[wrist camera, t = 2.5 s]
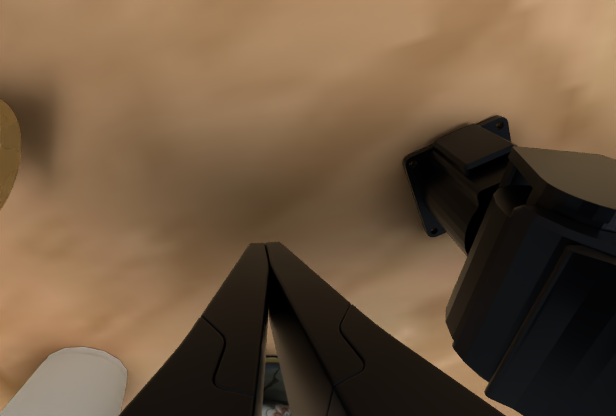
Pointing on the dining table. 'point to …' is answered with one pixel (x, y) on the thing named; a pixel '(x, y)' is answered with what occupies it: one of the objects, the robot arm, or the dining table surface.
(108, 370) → the foam cup
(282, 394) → the apothecary jar
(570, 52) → the dining table surface
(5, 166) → the brass plunger
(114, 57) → the dining table surface
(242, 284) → the robot arm
